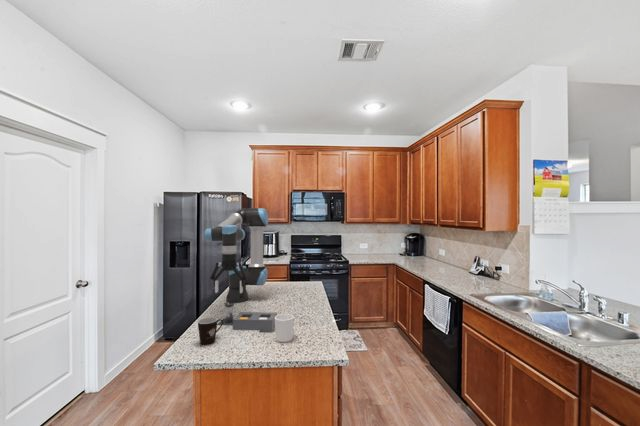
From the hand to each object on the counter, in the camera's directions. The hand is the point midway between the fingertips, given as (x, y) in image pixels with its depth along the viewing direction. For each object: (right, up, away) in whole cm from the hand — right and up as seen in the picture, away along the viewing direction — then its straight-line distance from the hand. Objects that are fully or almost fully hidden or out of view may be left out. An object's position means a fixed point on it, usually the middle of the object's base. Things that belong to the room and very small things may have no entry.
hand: (229, 292), depth 157 cm
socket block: (+16, -17, -6) cm, 24 cm away
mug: (+33, -17, -20) cm, 42 cm away
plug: (0, -16, 0) cm, 16 cm away
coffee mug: (-1, -17, -23) cm, 28 cm away
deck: (0, -17, 0) cm, 17 cm away
